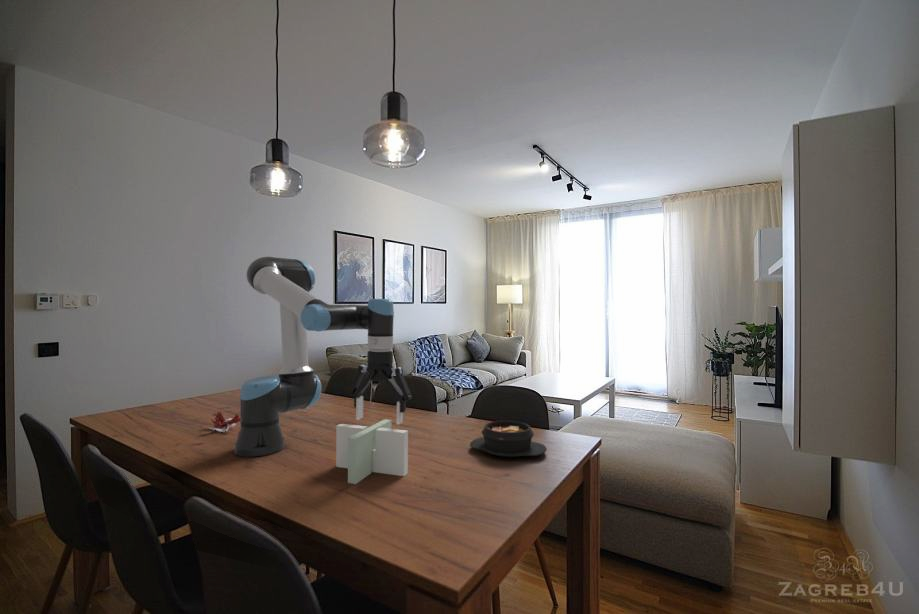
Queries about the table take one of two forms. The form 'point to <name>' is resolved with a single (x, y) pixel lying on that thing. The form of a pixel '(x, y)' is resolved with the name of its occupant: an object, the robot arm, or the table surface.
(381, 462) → the white board
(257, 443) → the robot arm
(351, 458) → the green board
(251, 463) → the table surface
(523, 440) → the casserole
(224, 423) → the figurine
